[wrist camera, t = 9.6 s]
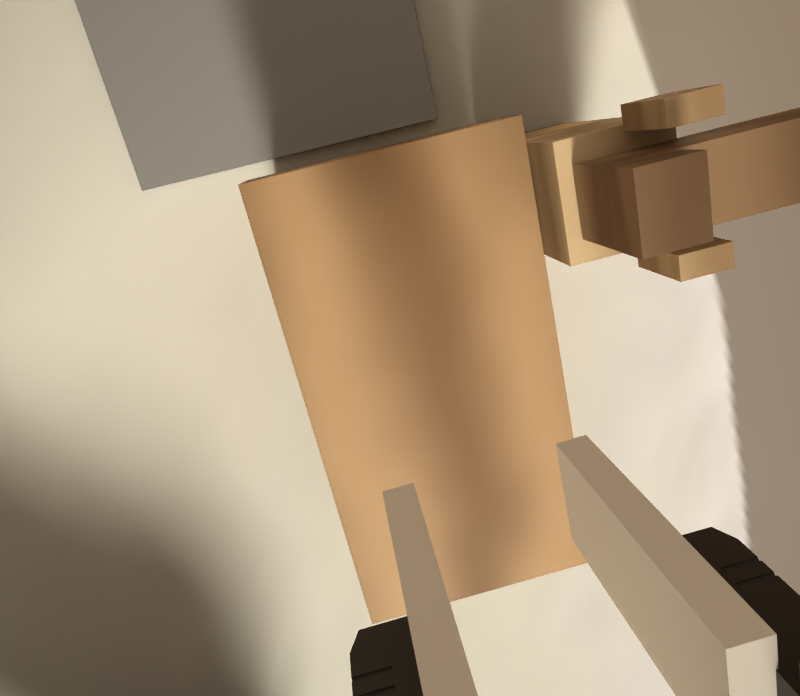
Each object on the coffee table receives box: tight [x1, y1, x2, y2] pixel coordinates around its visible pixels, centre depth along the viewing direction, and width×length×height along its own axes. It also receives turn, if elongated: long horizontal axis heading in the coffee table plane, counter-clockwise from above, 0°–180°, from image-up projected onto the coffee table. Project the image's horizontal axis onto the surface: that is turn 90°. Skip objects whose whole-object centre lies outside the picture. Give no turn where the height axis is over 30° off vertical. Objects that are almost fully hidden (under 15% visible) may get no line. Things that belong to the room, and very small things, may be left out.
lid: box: [238, 115, 587, 624], centre depth 24 cm, size 9×17×3 cm, turn 13°
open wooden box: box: [525, 84, 735, 282], centre depth 25 cm, size 13×16×12 cm
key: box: [573, 108, 800, 259], centre depth 19 cm, size 12×2×4 cm, turn 103°
